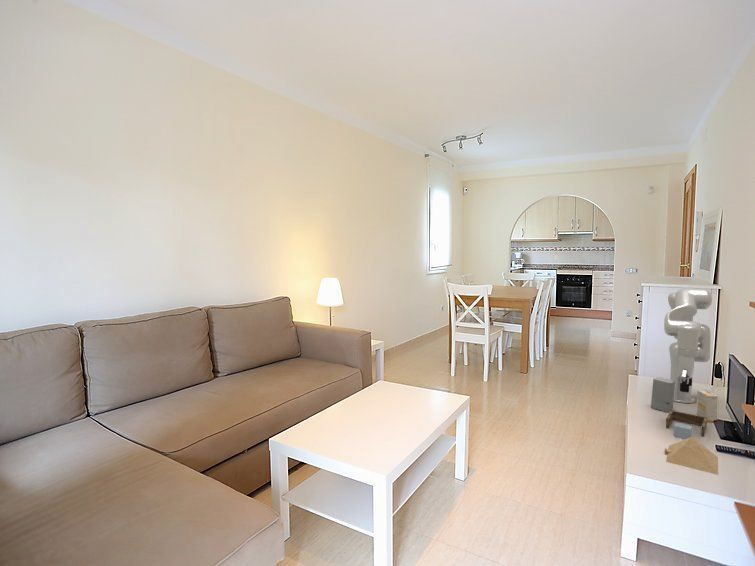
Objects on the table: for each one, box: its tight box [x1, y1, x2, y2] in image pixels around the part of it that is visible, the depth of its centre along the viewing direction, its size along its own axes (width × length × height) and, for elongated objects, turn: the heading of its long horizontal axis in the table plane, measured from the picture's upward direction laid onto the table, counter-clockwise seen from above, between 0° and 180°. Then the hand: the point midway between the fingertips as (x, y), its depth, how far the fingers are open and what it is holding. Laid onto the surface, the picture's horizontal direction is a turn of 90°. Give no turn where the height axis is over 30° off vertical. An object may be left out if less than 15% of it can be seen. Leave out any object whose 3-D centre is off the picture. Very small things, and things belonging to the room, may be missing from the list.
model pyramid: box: [664, 436, 719, 476], centre depth 162 cm, size 17×17×10 cm
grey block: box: [673, 422, 693, 440], centre depth 181 cm, size 4×6×5 cm
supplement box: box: [696, 389, 719, 423], centre depth 197 cm, size 8×5×13 cm, turn 168°
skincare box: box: [650, 376, 675, 413], centre depth 210 cm, size 8×7×16 cm
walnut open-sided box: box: [665, 409, 708, 438], centre depth 189 cm, size 13×14×4 cm
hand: (685, 388), depth 183 cm, fingers open, 9 cm apart
